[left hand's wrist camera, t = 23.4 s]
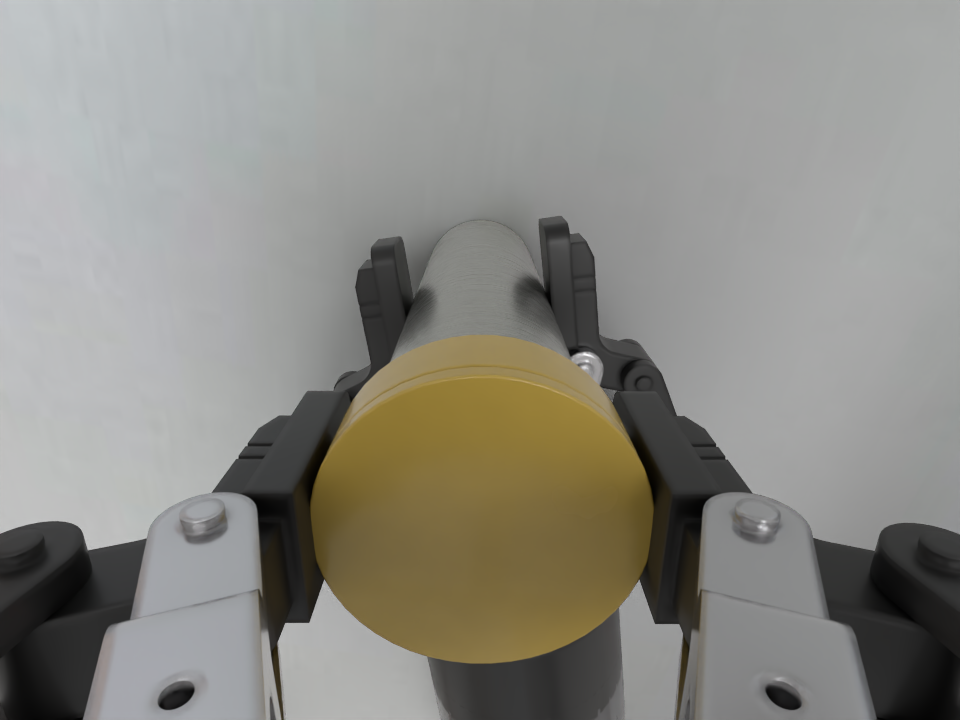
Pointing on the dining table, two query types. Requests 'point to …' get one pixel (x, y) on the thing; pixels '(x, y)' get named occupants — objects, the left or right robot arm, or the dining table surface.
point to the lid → (481, 502)
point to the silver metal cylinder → (480, 291)
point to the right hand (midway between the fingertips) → (468, 234)
